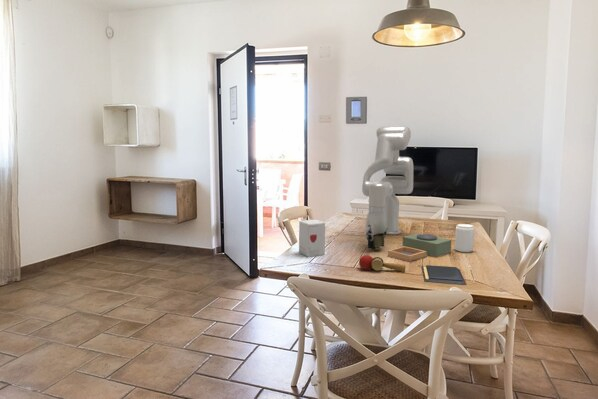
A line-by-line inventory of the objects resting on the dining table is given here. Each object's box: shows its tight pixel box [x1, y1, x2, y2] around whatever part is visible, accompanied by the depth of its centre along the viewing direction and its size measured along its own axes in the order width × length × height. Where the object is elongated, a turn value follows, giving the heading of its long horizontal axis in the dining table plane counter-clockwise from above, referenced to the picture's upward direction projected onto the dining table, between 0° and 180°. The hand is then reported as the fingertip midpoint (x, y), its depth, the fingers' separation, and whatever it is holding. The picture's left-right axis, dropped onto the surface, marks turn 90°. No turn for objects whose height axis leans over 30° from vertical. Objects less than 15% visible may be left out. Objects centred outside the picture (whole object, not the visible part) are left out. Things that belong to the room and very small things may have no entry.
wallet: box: [421, 264, 467, 286], centre depth 160 cm, size 20×2×15 cm
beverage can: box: [454, 223, 475, 253], centre depth 194 cm, size 8×8×12 cm
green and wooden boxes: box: [387, 232, 452, 263], centre depth 189 cm, size 18×27×7 cm, turn 130°
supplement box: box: [298, 219, 326, 258], centre depth 189 cm, size 9×9×15 cm
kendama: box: [358, 254, 407, 273], centre depth 166 cm, size 8×6×18 cm
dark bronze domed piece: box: [370, 233, 385, 252], centre depth 195 cm, size 8×7×8 cm
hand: (375, 247), depth 196 cm, fingers closed on dark bronze domed piece, 6 cm apart
